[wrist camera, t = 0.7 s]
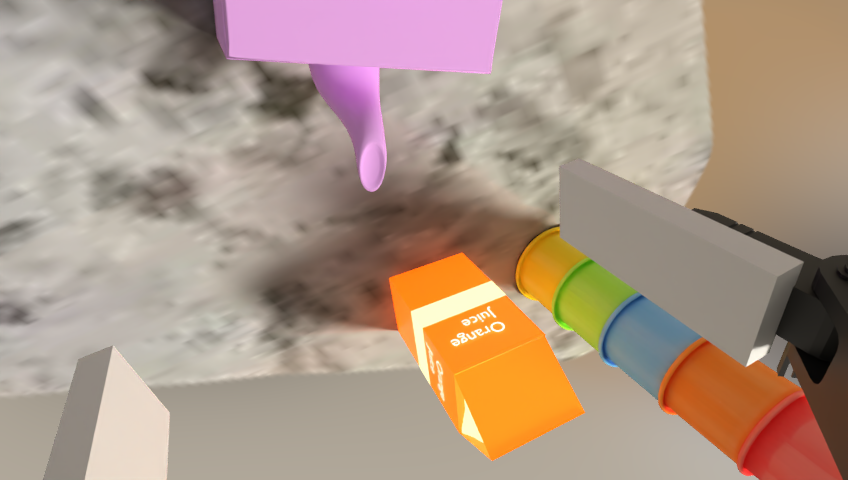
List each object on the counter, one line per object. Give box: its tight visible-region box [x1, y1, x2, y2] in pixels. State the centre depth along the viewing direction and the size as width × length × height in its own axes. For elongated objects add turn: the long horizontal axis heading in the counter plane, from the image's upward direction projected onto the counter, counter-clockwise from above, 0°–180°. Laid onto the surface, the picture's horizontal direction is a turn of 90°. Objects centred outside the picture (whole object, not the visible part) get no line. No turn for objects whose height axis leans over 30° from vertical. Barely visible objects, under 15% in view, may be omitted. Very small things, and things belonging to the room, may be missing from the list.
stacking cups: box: [515, 227, 843, 480], centre depth 42 cm, size 10×10×35 cm
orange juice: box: [389, 253, 585, 461], centre depth 42 cm, size 8×9×20 cm
